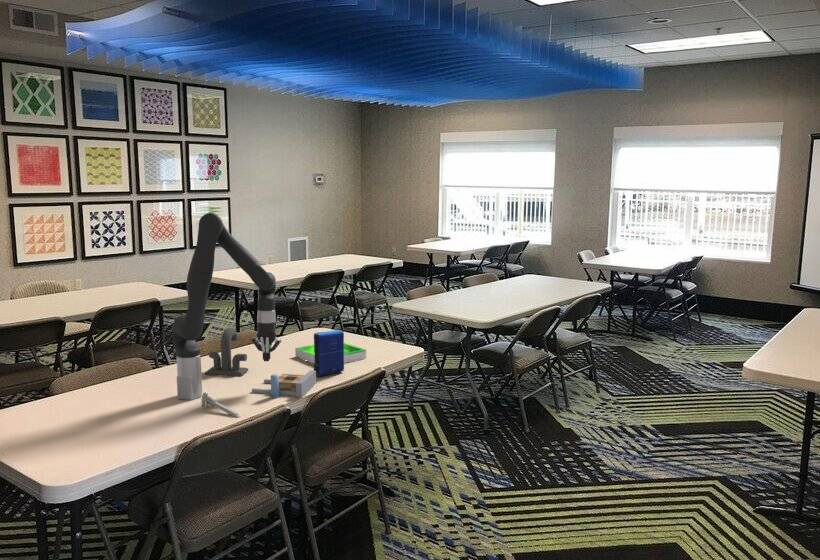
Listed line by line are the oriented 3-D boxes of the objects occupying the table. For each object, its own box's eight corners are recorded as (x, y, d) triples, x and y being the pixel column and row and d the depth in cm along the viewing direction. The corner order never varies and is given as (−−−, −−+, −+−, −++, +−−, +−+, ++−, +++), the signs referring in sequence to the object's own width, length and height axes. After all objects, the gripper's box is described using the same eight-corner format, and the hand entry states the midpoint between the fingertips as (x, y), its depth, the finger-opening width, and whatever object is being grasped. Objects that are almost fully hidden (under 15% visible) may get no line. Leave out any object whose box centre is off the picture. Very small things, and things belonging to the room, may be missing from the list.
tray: (295, 357, 320) (295, 348, 320) (336, 349, 337) (336, 340, 336) (324, 369, 302) (324, 358, 301) (366, 359, 319) (366, 349, 318)
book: (317, 378, 287) (316, 334, 284) (311, 375, 291) (311, 332, 288) (345, 372, 295) (344, 330, 292) (339, 369, 299) (339, 328, 296)
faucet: (254, 366, 304) (253, 325, 301) (243, 376, 288) (241, 333, 285) (217, 365, 306) (216, 323, 303) (204, 375, 290) (202, 331, 287)
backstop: (301, 397, 261) (301, 383, 260) (249, 394, 265) (249, 380, 264) (316, 384, 279) (315, 370, 278) (266, 380, 282) (266, 367, 282)
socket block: (298, 393, 265) (298, 383, 264) (273, 392, 267) (272, 381, 266) (307, 385, 276) (307, 375, 275) (282, 383, 278) (282, 373, 277)
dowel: (277, 398, 260) (277, 376, 259) (270, 397, 261) (269, 376, 259) (280, 395, 263) (279, 374, 262) (273, 395, 264) (272, 374, 262)
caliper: (201, 407, 250) (200, 392, 249) (203, 406, 251) (203, 391, 250) (238, 418, 239) (237, 402, 238) (240, 417, 240) (240, 401, 239)
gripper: (247, 321, 265) (247, 362, 268) (277, 323, 263) (277, 364, 265) (255, 317, 273) (255, 357, 275) (284, 319, 270) (284, 360, 272)
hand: (266, 360), depth 270 cm, fingers closed
